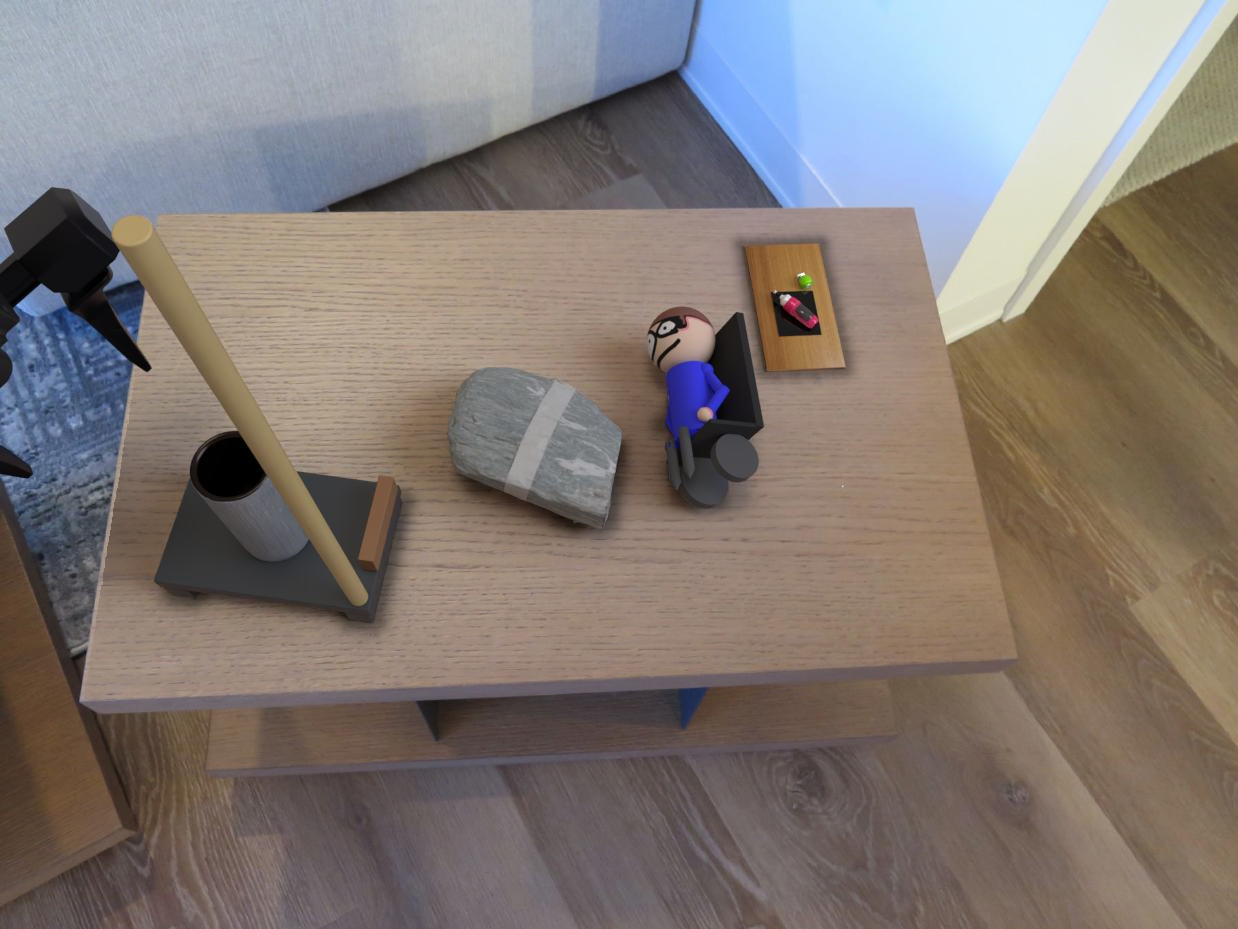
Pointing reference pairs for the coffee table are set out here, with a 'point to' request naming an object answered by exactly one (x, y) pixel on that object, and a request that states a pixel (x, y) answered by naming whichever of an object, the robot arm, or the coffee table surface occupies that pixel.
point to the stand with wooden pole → (323, 505)
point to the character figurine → (707, 402)
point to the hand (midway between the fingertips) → (89, 419)
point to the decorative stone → (535, 442)
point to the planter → (245, 498)
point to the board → (794, 308)
